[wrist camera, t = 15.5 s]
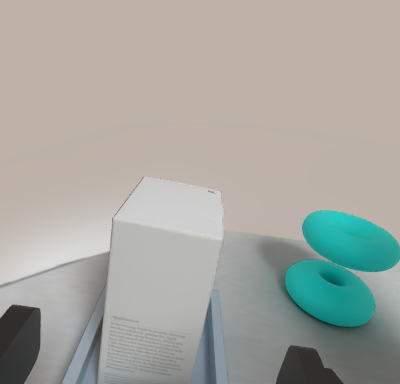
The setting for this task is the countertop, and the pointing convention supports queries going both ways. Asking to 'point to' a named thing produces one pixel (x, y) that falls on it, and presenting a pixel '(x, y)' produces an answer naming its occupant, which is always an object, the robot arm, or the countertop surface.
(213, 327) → the tray
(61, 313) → the countertop surface
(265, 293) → the countertop surface
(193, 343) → the small box
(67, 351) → the countertop surface
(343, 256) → the donuts
